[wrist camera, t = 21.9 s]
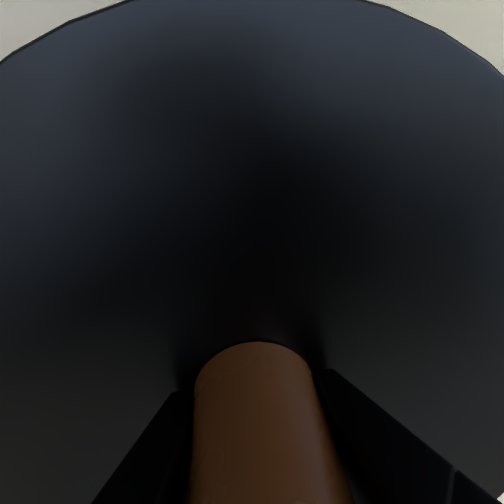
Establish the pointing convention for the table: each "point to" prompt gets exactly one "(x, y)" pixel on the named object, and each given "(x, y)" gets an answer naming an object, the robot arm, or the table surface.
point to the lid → (247, 243)
